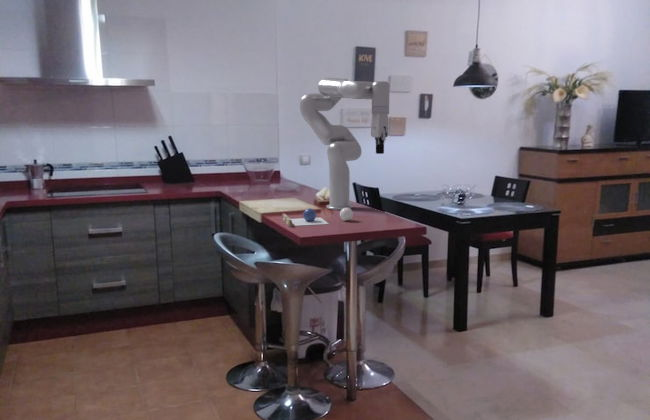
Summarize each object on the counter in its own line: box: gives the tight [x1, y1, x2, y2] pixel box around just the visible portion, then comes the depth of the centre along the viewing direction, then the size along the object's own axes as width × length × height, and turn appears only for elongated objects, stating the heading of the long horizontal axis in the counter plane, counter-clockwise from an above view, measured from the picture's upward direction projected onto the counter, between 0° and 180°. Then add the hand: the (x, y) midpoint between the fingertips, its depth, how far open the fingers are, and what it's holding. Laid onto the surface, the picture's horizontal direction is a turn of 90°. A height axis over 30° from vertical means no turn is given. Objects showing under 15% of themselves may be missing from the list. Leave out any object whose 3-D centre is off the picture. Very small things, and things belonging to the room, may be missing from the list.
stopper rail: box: [282, 213, 293, 228], centre depth 220 cm, size 16×1×2 cm, turn 14°
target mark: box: [290, 217, 330, 227], centre depth 223 cm, size 14×14×1 cm
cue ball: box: [339, 208, 354, 222], centre depth 224 cm, size 6×6×6 cm
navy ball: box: [302, 207, 317, 222], centre depth 223 cm, size 6×6×6 cm
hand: (379, 153), depth 234 cm, fingers closed
